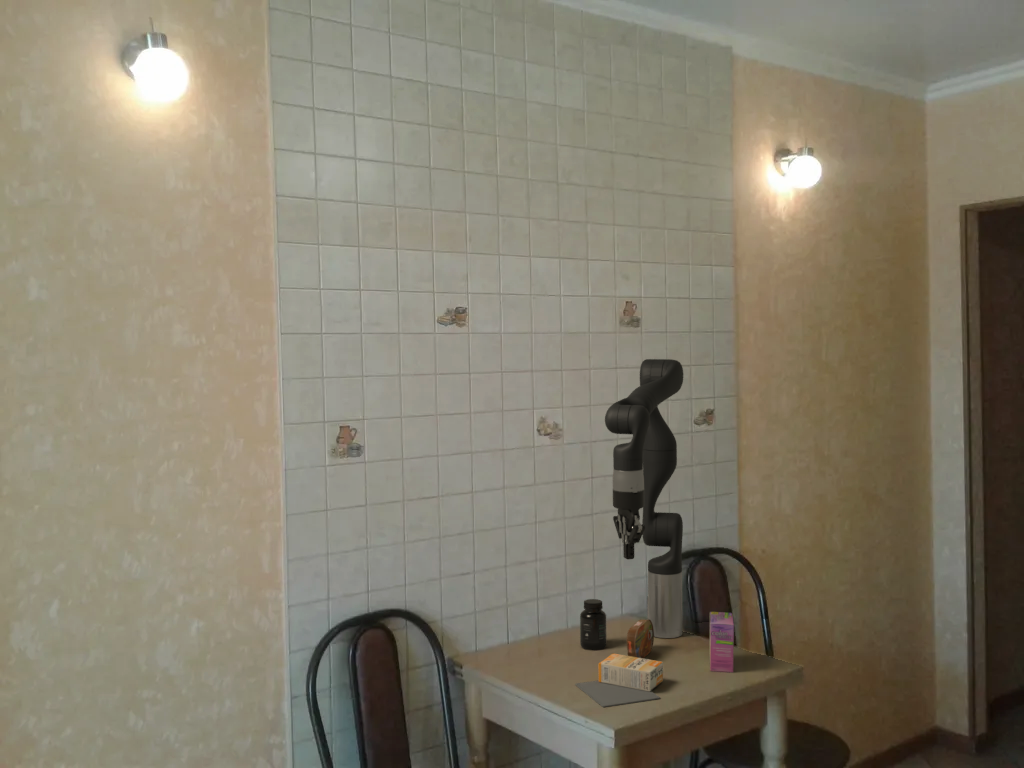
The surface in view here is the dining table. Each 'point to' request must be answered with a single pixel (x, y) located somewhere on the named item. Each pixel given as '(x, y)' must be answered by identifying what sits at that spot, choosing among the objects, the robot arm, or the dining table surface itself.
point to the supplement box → (630, 672)
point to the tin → (640, 639)
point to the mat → (614, 693)
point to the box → (721, 642)
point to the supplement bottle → (593, 625)
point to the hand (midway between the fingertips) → (629, 558)
